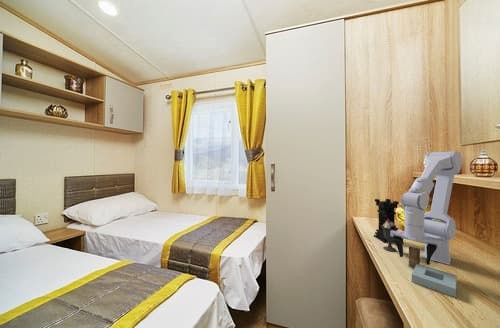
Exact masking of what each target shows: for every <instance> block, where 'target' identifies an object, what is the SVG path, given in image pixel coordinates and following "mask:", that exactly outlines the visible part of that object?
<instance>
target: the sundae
mask: <svg viewBox="0 0 500 328" xmlns="http://www.w3.org/2000/svg"><path fill="white" fill-rule="evenodd" d="M385 216H386V215H385ZM386 217H387V216H386ZM381 227H382V228H383V232H384V237H385V239H386V240H387V241H388V244H387V246H386V245H385V246H383V249H384V250H385V251H388V252H392V253H395V252H397V251H398V249H396V248H394V247H393V245H392V243H391V242H393V241H394V240H393V238H394V237H392V236H390V231H391V230H393V231H399V229H400V228H399V227H397V224H395V225H394V223H393V222H391V221H390V220H388V218H387V220H386V222H385V223H384V224H383V225H381Z"/></svg>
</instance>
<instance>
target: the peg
mask: <svg viewBox="0 0 500 328" xmlns="http://www.w3.org/2000/svg"><path fill="white" fill-rule="evenodd" d="M416 264H420V265H421V249H420V248H419V247H416V246H412V245H411V246H408V266H409V267H410V268H412V269H414V268H415V266H416Z"/></svg>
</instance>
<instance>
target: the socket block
mask: <svg viewBox="0 0 500 328" xmlns="http://www.w3.org/2000/svg"><path fill="white" fill-rule="evenodd" d="M457 281H458V276H457V274H453V273H451V272H448V271H447V272H446V271H444V270H440V269H437V268H433V267H430V266H428V265H424V264H421V263H420V264H416V266H415V268H413V271H412V273H411V283H414V284H416V285H419V286H422V287H426V288H429V289H431V290H433V291H436V292H439V293H442V294H445V295H448V296H450V297H454V298H456V297H457V286H458V285H457V284H458V282H457Z"/></svg>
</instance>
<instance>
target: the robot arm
mask: <svg viewBox="0 0 500 328" xmlns="http://www.w3.org/2000/svg"><path fill="white" fill-rule="evenodd" d="M424 163H425V167H424V169H423V171H422V174H421V176H420V177H417V178H415V180H414V181H413V182H412V183H413V184H412V185H411V187H410V188H409V189H408V191H405V192H404V193H402V195H401V199H400V203H401V206H402V210H403V212H404V231H399V230H397V231H393V230H391V231H390V236H392V237H394V238H393V240H394V242H395V243H394V244H395V246H396V248H397V251H398V254H399V257H400V258H403V256H404V240H407V241H408V240H409V241H413V242H417V243H422V244H424V252H423V253H422V256H421V257H422V258H423V259H425V260H426V261H425V263H426V264H425V266H430V262H431V261H434V262H437V263H441V264H445V265H448V266H450V265H451V261H452V255H450V240H452V239H454V238H455V236H456V233H457V232H456V231H457V228H456V221H455V220H454V218H452V217H451V216H450V215H449V214H448V210H449V205H450V200H451V194H452V190H453V189H452V188H453V185H454V183H453V182H454V179H455V175H458V174H459V173H461V169H462V163H463V156H462V154H461V153H460V152H459V151H457V150H454V151H434V152H433V151H429V152H427V153H426V154H425V155H424ZM435 179H436V182H435V183H434V180H435ZM433 188H434V190H433ZM432 191H434V192H433V196H432V202H431V206H430V210H429V211H427V212H425V209H427V207H428V206H429V200H430V196H429V195H430V193H431V192H432Z"/></svg>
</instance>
